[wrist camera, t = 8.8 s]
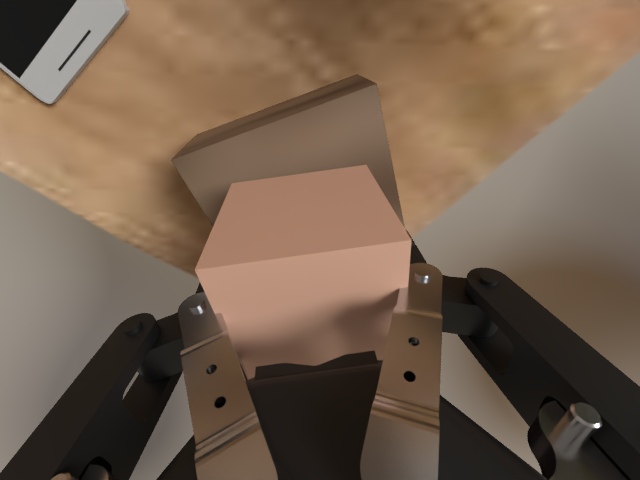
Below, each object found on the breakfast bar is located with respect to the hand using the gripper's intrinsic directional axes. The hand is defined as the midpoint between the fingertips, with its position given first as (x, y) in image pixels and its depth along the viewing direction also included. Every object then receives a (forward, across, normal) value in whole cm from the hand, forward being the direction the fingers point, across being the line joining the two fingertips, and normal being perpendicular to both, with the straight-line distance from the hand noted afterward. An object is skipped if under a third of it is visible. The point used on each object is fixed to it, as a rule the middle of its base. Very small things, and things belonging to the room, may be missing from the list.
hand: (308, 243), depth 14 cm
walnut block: (+8, 0, 0) cm, 8 cm away
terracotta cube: (+1, 0, 0) cm, 1 cm away
